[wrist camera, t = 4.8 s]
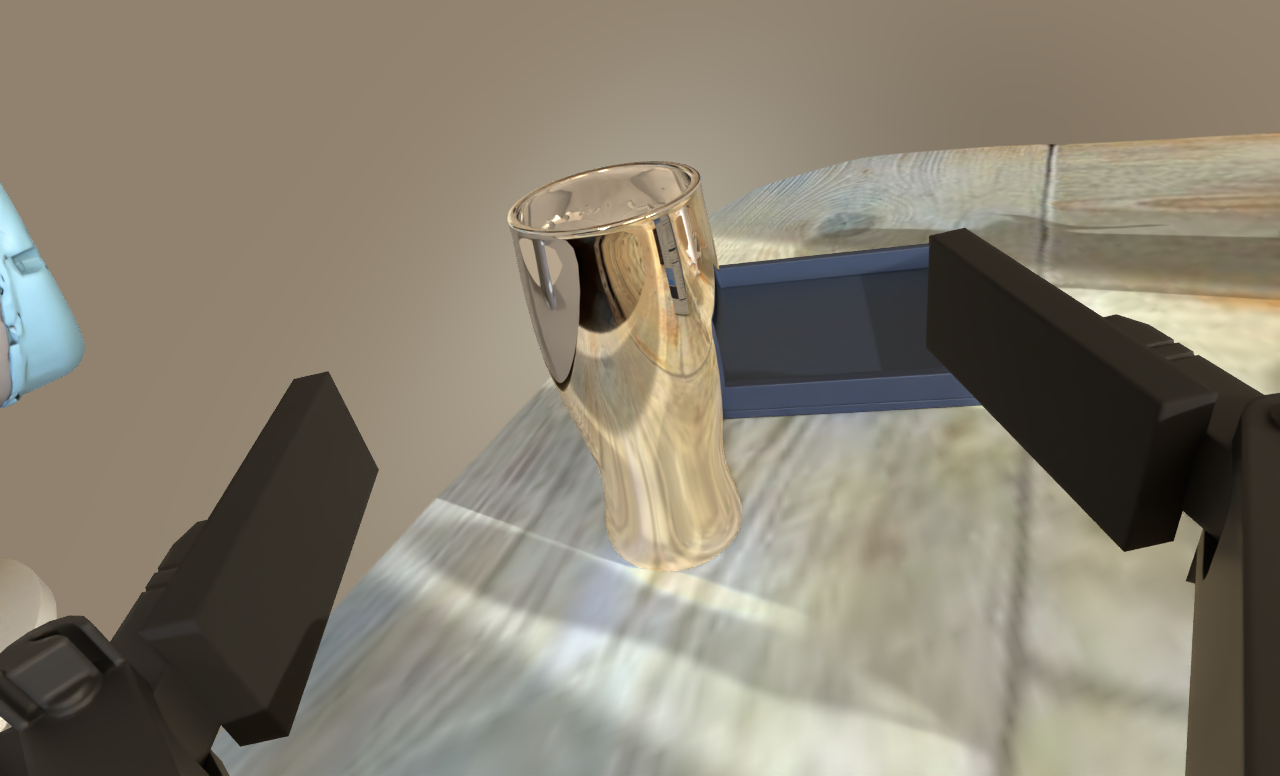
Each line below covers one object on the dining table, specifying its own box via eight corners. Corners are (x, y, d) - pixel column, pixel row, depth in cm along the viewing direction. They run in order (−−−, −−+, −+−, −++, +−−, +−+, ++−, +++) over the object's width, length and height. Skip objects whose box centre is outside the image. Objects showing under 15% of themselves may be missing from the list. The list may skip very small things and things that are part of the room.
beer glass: (740, 458, 34) (695, 146, 26) (766, 567, 28) (720, 206, 20) (599, 482, 34) (513, 182, 26) (596, 594, 28) (484, 252, 20)
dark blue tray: (680, 421, 37) (674, 390, 36) (705, 292, 50) (701, 266, 49) (1036, 402, 33) (1041, 367, 32) (967, 267, 45) (969, 238, 44)
